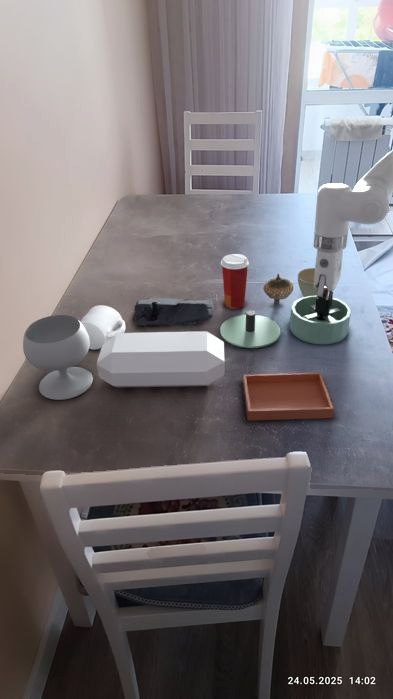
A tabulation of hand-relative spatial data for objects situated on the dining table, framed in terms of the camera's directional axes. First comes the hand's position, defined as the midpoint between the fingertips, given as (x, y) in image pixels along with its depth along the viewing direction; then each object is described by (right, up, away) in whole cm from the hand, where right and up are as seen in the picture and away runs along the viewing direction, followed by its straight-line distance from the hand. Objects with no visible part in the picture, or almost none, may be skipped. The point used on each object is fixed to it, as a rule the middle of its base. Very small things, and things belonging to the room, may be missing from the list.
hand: (323, 308), depth 122 cm
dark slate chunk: (-38, -1, +13) cm, 40 cm away
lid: (-18, -6, +3) cm, 19 cm away
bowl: (0, -5, +4) cm, 6 cm away
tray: (-13, -21, -19) cm, 32 cm away
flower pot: (+2, +4, +18) cm, 18 cm away
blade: (0, -2, +2) cm, 3 cm away
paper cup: (-21, +3, +17) cm, 27 cm away
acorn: (-9, +2, +15) cm, 17 cm away
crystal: (-40, -17, -11) cm, 45 cm away
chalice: (-62, -19, -12) cm, 66 cm away
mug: (-56, -8, +3) cm, 57 cm away
